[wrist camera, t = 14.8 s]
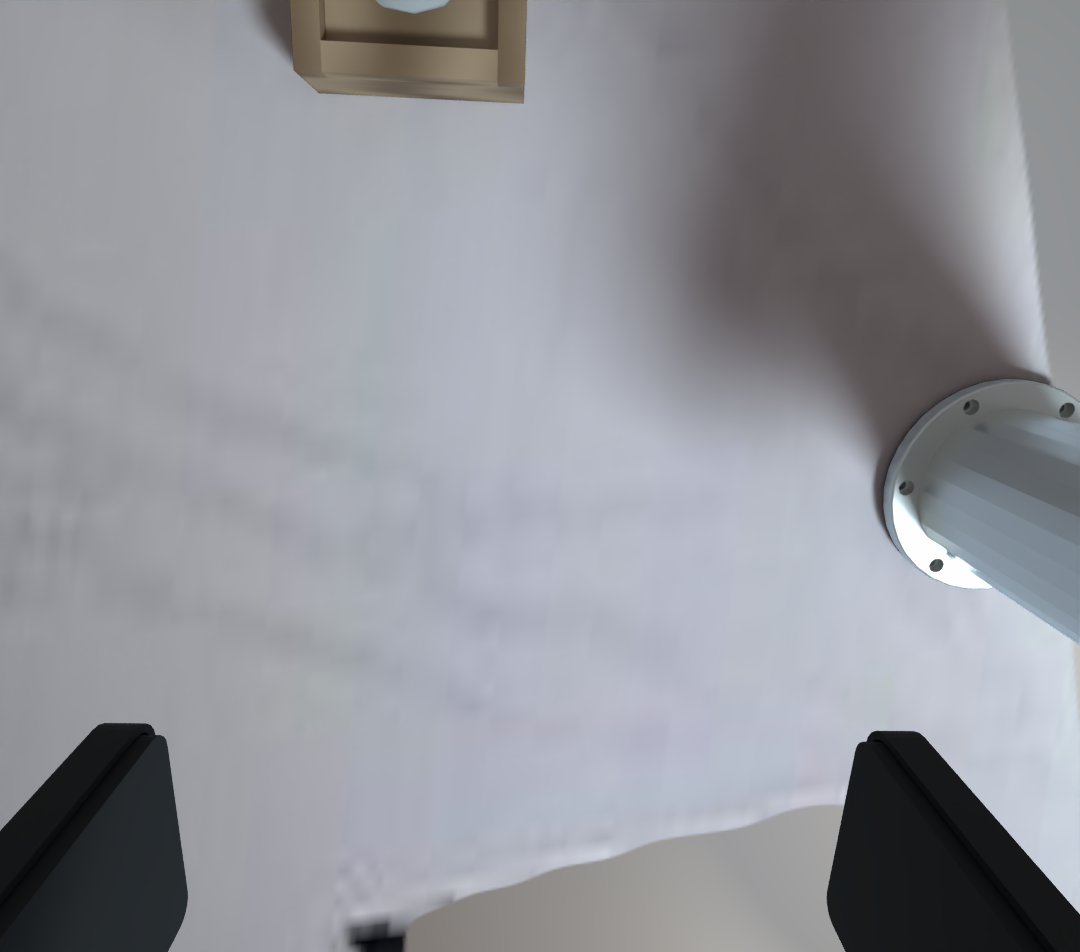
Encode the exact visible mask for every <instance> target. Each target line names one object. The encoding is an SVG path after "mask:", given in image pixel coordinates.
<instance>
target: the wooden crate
mask: <svg viewBox="0 0 1080 952" xmlns="http://www.w3.org/2000/svg"><path fill="white" fill-rule="evenodd" d="M290 13H291V30H292V48H293V65H294V71H295V72H296V73H297V74H298V75H299V76H301V77H302V78H303V79H304V80H305V81H306V82H307V83H308V84H309V85H311V86H312V87H313V88H314V89H315V90H316V91H317V92H318V93H327V94H347V95H367V96H386V97H406V98H426V99H445V100H465V101H485V102H505V103H524V85H525V52H526V17H527V0H450V1H449V2H448V3H447V4H446V5H445V6H443V7H439V8H435V9H431V10H428V11H424V12H420V13H416V14H413V13H408V12H403V11H398V10H393V9H388V8H384V7H383V6H381V5H380V4H379V3H378V2H377V1H376V0H290Z"/></svg>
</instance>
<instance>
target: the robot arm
mask: <svg viewBox="0 0 1080 952" xmlns="http://www.w3.org/2000/svg"><path fill="white" fill-rule="evenodd" d="M901 483H902V484H901ZM900 484H901V485H900ZM883 509H884V515H885V521H886V526H887V528H888V531H889V533H890V536H891V538H892V541H893V543H894V544H895V545H896V547H897V548H898V550H899V551H900V553H901V554H902V556H903V557H905V558H906V559H907V560H908V561H909V562H910V563H911V564H912V565H913V566H915V567H916V568H917V569H918V570H920V571H921V572H923V573H924V574H925V575H927V576H928V577H930V578H932V579H935V580H937V581H939V582H942V583H944V584H946V585H950V586H955V587H960V588H965V589H988V588H995V589H996V590H998V591H999V592H1001V593H1002V594H1004V595H1005V596H1007V597H1008V598H1010V599H1011V600H1013V601H1014V602H1016V603H1017V604H1019V605H1020V606H1022V607H1023V608H1025V609H1026V610H1028V611H1029V612H1031V613H1032V614H1034V615H1035V616H1037V617H1038V618H1040V619H1041V620H1043V621H1044V622H1046V623H1047V624H1049V625H1050V626H1052V627H1053V628H1055V629H1056V630H1058V631H1059V632H1061V633H1062V634H1064V635H1065V636H1067V637H1068V638H1070V639H1071V640H1073V641H1074V642H1076V643H1077V644H1079V645H1080V401H1079V400H1077V399H1076V398H1074V397H1073V396H1071V395H1070V394H1068V393H1067V392H1065V391H1064V390H1061V389H1058V388H1055V387H1053V386H1050V385H1047V384H1044V383H1039V382H1034V381H1029V380H1020V379H1001V380H994V381H988V382H982V383H979V384H977V385H974V386H971V387H968V388H965V389H962V390H960V391H958V392H957V393H955V394H953V395H951V396H949V397H947V398H946V399H944V400H942V401H941V402H940V403H938V404H937V405H936V406H934V407H933V408H932V409H931V410H929V411H928V412H927V413H925V414H924V415H923V416H922V417H921V419H920V420H919V421H918V422H917V423H916V424H915V425H914V426H913V427H912V428H911V429H910V430H909V432H908V433H907V435H906V436H905V438H904V439H903V441H902V442H901V444H900V445H899V447H898V448H897V450H896V453H895V455H894V457H893V460H892V462H891V464H890V466H889V469H888V473H887V477H886V481H885V486H884V499H883ZM187 900H188V891H187V884H186V876H185V869H184V862H183V855H182V848H181V840H180V833H179V826H178V819H177V811H176V804H175V797H174V790H173V782H172V775H171V768H170V761H169V753H168V746H167V742H166V739H165V738H164V736H161V735H155V732H154V729H153V728H152V726H151V725H149V724H139V723H104V724H100V725H98V726H97V727H96V728H95V729H93V730H92V731H91V732H90V734H89V735H88V736H87V737H86V738H85V739H84V740H83V741H82V742H81V743H80V744H79V746H78V747H77V748H76V749H75V750H74V751H73V752H72V753H71V754H70V755H69V756H68V758H67V759H66V760H65V761H64V762H63V763H62V764H61V765H60V766H59V767H58V768H57V770H56V771H55V772H54V773H53V774H52V775H51V776H50V777H49V778H48V779H47V780H46V782H45V783H44V784H43V785H42V786H41V787H40V788H39V789H38V790H37V791H36V792H35V794H34V795H33V796H32V797H31V798H30V799H29V800H28V801H27V802H26V803H25V804H24V806H23V807H22V808H21V809H20V810H19V811H18V812H17V813H16V814H15V815H14V816H13V818H12V819H11V820H10V821H9V822H8V823H7V824H6V825H5V826H4V827H3V828H2V830H1V831H0V952H168V950H169V948H170V946H171V944H172V943H173V941H174V939H175V937H176V935H177V933H178V931H179V929H180V927H181V924H182V922H183V919H184V916H185V912H186V907H187ZM827 906H828V912H829V916H830V919H831V922H832V924H833V927H834V928H835V931H836V933H837V935H838V937H839V939H840V941H841V943H842V945H843V947H844V949H845V951H846V952H1080V914H1079V913H1078V912H1077V911H1076V910H1075V908H1074V907H1073V906H1072V905H1071V904H1070V903H1069V902H1068V900H1067V899H1066V898H1065V897H1064V896H1063V895H1062V894H1061V892H1060V891H1059V890H1058V889H1057V888H1056V887H1055V886H1054V885H1053V883H1052V882H1051V881H1050V880H1049V879H1048V878H1047V877H1046V875H1045V874H1044V873H1043V872H1042V871H1041V870H1040V869H1039V867H1038V866H1037V865H1036V864H1035V863H1034V862H1033V861H1032V859H1031V858H1030V857H1029V856H1028V855H1027V854H1026V853H1025V851H1024V850H1023V849H1022V848H1021V847H1020V846H1019V845H1018V843H1017V842H1016V841H1015V840H1014V839H1013V838H1012V837H1011V835H1010V834H1009V833H1008V832H1007V831H1006V830H1005V829H1004V827H1003V826H1002V825H1001V824H1000V823H999V822H998V821H997V819H996V818H995V817H994V816H993V815H992V814H991V813H990V811H989V810H988V809H987V808H986V807H985V806H984V805H983V803H982V802H981V801H980V800H979V799H978V798H977V797H976V796H975V794H974V793H973V792H972V791H971V790H970V789H969V788H968V786H967V785H966V784H965V783H964V782H963V781H962V780H961V778H960V777H959V776H958V775H957V774H956V773H955V772H954V770H953V769H952V768H951V767H950V766H949V765H948V764H947V762H946V761H945V760H944V759H943V758H942V757H941V756H940V754H939V753H938V752H937V751H936V750H935V749H934V748H933V746H932V745H931V744H930V743H929V742H928V741H927V740H926V738H925V737H923V736H922V735H921V734H920V733H917V732H914V731H874V732H872V733H871V734H870V735H869V736H868V739H867V742H861V743H859V744H858V746H857V748H856V751H855V756H854V761H853V766H852V771H851V775H850V780H849V785H848V790H847V795H846V800H845V805H844V810H843V816H842V820H841V826H840V830H839V835H838V841H837V845H836V850H835V855H834V860H833V865H832V870H831V875H830V880H829V885H828V890H827Z"/></svg>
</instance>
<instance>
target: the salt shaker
mask: <svg viewBox="0 0 1080 952" xmlns="http://www.w3.org/2000/svg"><path fill="white" fill-rule="evenodd" d="M376 1H377V2H378V3H379V4H380V5H381V6H383V7H384V8H388V9H393V10H398V11H403V12H408V13H413V14H416V13H420V12H424V11H428V10H431V9H435V8H439V7H443V6H445V5H446V4H447V3H448V2H449V1H450V0H376Z"/></svg>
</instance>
